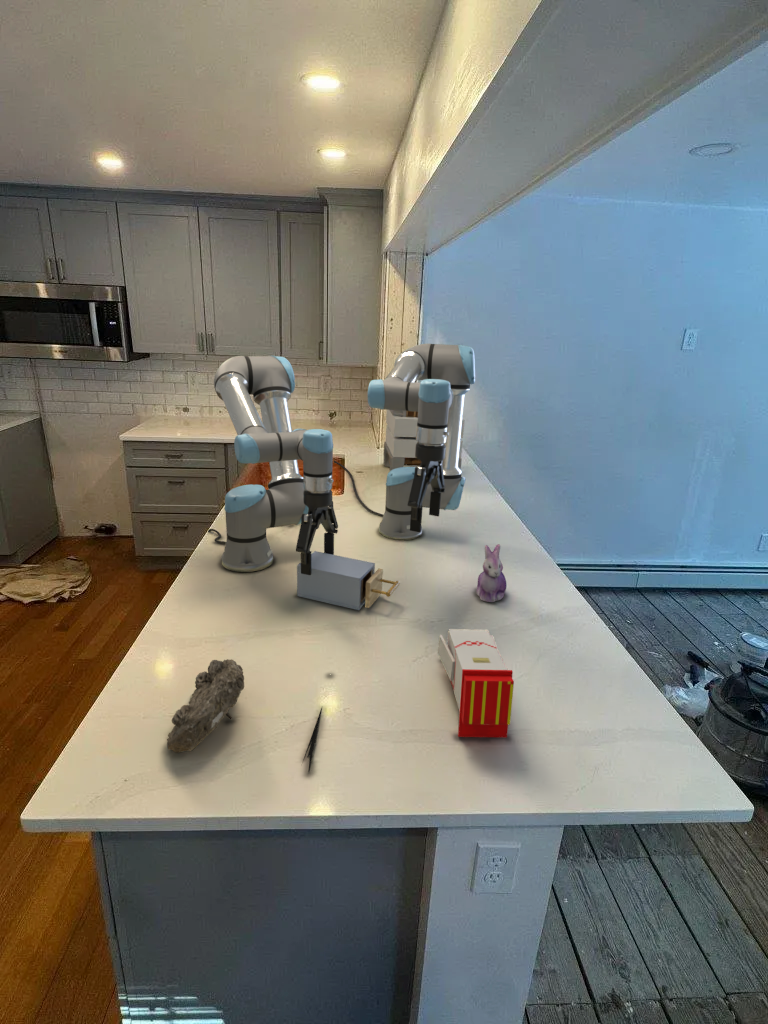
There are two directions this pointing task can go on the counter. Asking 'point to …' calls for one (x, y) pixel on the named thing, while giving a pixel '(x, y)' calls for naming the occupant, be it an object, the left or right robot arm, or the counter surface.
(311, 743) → the feather
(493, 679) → the toy
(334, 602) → the cabinet
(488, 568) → the figurine
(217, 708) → the fossil
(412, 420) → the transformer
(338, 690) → the counter surface
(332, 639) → the counter surface
